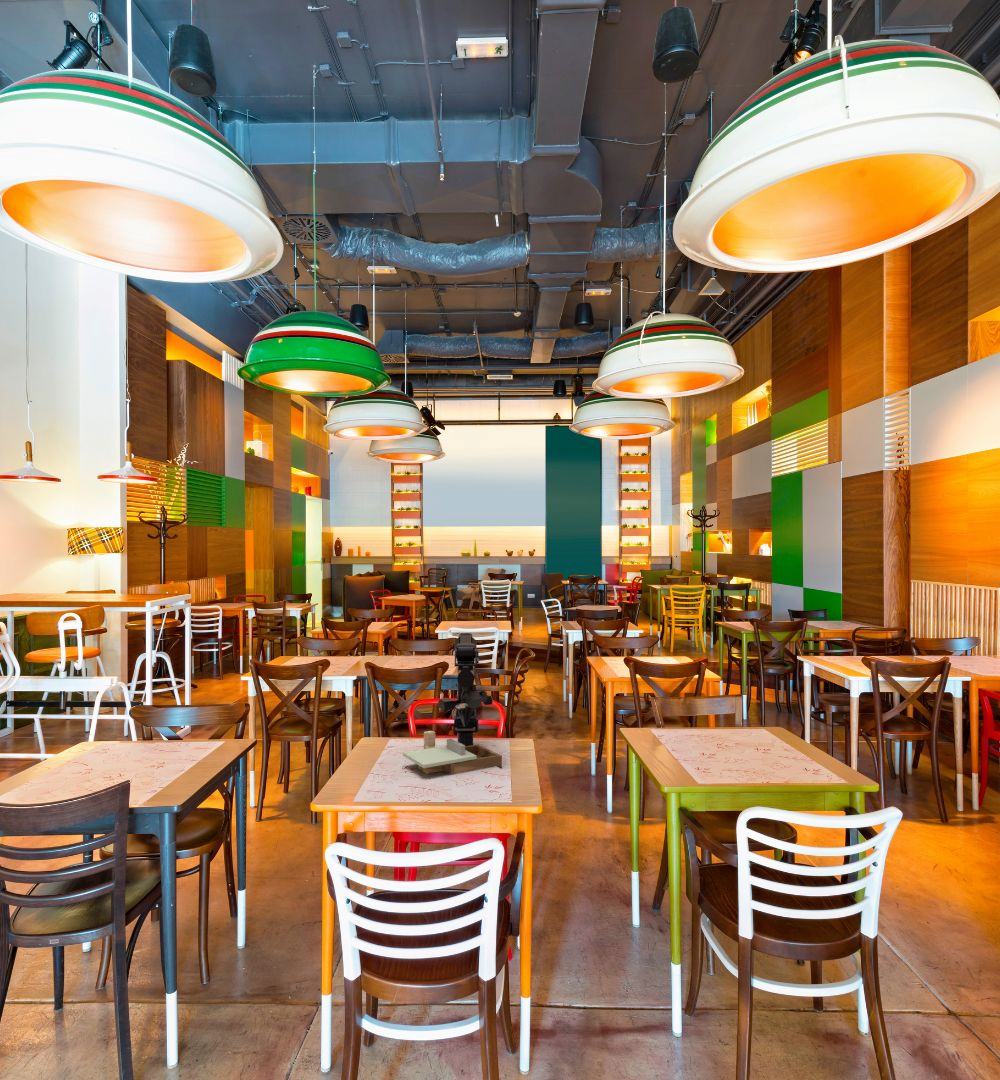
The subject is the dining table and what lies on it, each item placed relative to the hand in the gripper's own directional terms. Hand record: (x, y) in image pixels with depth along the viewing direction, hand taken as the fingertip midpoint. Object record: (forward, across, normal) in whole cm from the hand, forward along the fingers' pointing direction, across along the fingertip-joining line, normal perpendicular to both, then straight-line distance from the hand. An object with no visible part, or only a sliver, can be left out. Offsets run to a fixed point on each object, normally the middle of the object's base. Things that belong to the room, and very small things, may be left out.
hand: (465, 726), depth 226 cm
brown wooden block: (+12, -9, +10) cm, 18 cm away
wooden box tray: (+12, -6, -4) cm, 14 cm away
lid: (+7, -12, -4) cm, 15 cm away
